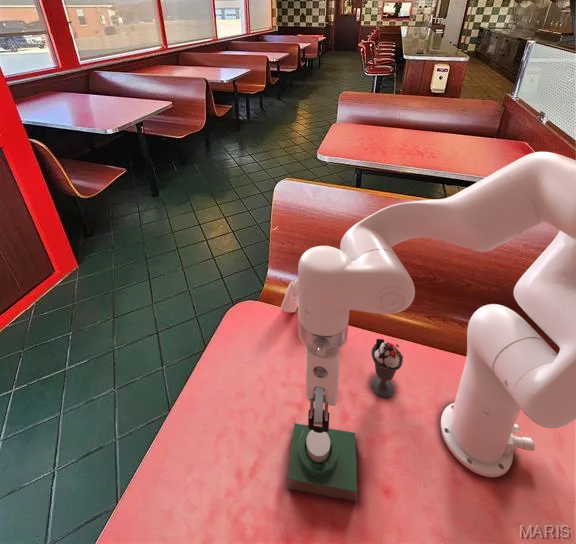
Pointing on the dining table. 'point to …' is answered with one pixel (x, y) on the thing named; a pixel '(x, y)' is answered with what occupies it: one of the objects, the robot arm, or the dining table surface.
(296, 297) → the shaker set
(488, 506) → the dining table surface
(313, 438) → the white button cap
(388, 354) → the sundae
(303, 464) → the button base
